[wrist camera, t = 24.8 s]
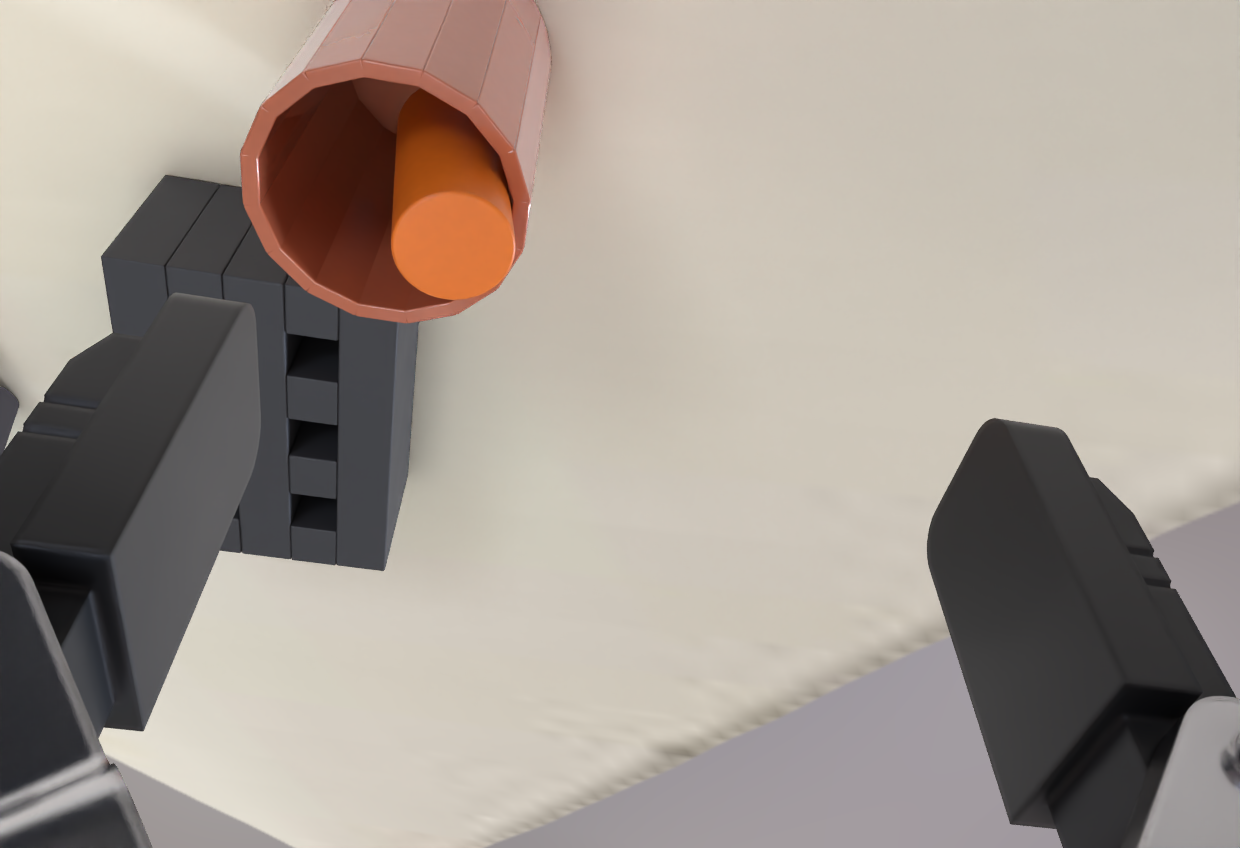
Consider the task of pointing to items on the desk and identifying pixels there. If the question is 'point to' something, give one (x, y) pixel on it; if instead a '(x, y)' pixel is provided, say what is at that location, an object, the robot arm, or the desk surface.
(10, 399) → the clip-on lamp
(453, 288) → the orange cylinder rod
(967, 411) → the desk surface
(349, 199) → the pen cup
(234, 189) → the holder
